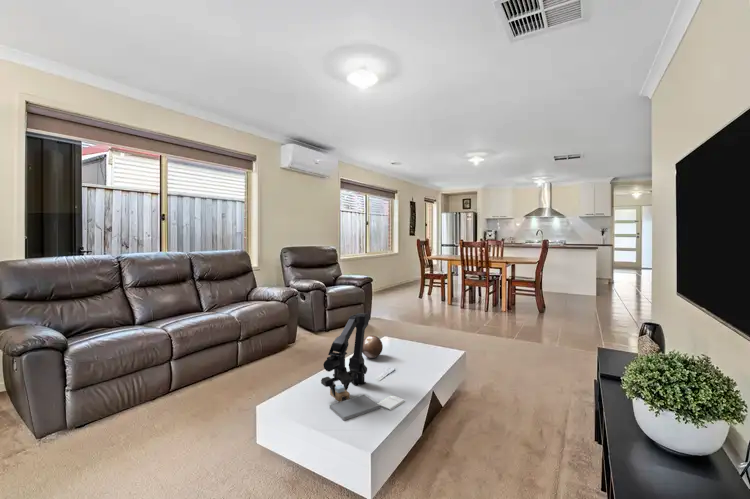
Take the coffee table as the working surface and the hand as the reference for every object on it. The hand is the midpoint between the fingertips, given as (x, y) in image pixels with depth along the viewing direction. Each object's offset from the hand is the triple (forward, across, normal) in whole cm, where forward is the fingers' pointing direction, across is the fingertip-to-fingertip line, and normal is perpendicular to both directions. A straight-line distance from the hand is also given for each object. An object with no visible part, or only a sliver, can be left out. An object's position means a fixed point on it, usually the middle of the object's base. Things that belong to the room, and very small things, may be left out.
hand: (339, 394), depth 179 cm
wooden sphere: (+1, +47, +40) cm, 62 cm away
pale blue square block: (-2, 0, 0) cm, 2 cm away
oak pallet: (+1, 0, 0) cm, 1 cm away
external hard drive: (+2, +17, -21) cm, 27 cm away
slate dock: (+1, 0, -15) cm, 15 cm away
